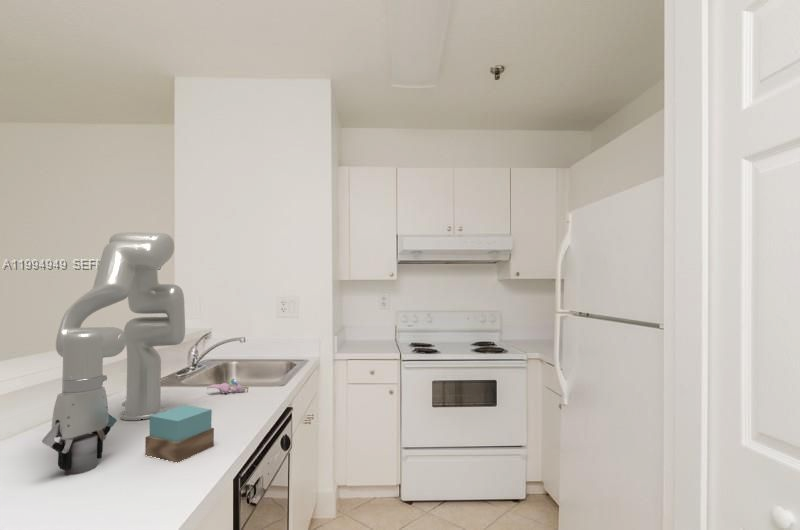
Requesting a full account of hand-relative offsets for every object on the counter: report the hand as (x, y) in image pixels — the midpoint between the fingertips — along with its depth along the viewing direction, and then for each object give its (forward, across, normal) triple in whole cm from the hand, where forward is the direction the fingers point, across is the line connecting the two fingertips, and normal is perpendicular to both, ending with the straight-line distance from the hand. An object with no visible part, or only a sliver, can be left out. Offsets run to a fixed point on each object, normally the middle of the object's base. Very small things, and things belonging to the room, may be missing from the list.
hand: (81, 462), depth 98 cm
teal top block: (-3, -16, +13) cm, 21 cm away
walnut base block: (+2, -16, +13) cm, 21 cm away
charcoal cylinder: (+1, 0, 0) cm, 1 cm away
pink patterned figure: (+2, -64, -18) cm, 66 cm away
